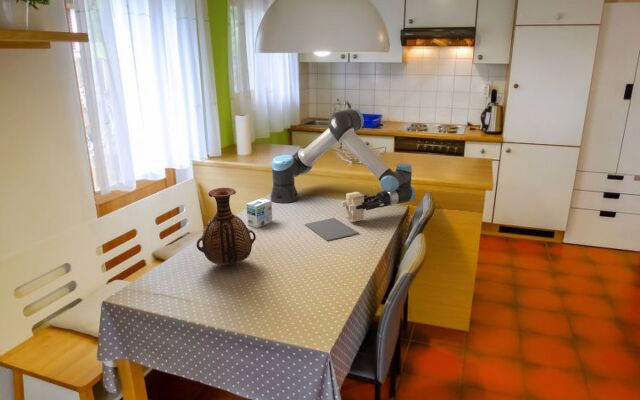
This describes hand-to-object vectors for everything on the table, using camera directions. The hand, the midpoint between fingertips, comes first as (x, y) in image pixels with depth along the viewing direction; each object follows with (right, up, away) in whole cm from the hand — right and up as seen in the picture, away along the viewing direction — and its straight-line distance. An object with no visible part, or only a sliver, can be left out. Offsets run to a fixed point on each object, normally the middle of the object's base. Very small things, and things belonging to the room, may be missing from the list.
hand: (345, 206), depth 216 cm
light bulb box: (-40, -8, +6) cm, 42 cm away
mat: (-7, -11, -3) cm, 13 cm away
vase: (-47, -22, -36) cm, 63 cm away
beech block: (+5, -6, +5) cm, 9 cm away
